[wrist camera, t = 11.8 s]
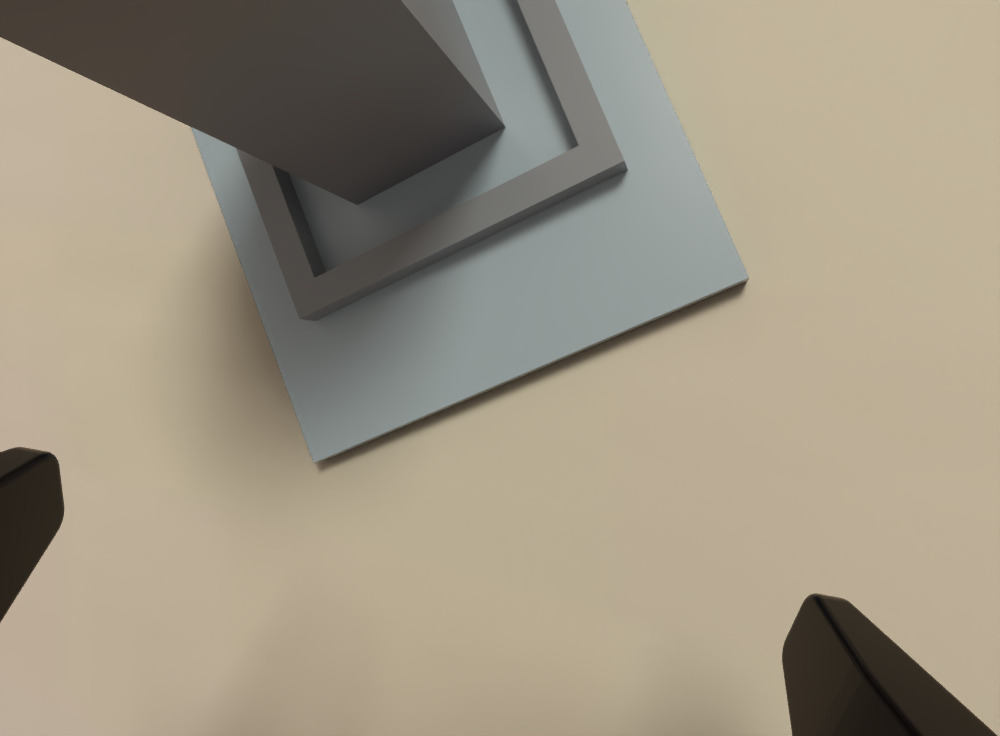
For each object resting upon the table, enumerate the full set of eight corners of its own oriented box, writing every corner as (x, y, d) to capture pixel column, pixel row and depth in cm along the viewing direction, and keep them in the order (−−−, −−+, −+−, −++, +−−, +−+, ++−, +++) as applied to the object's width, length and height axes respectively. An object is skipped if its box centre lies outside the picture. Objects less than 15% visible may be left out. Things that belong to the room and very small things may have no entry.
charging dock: (747, 280, 17) (751, 272, 16) (324, 460, 20) (293, 467, 19) (497, -283, 19) (478, -341, 17) (141, -41, 22) (98, -72, 20)
